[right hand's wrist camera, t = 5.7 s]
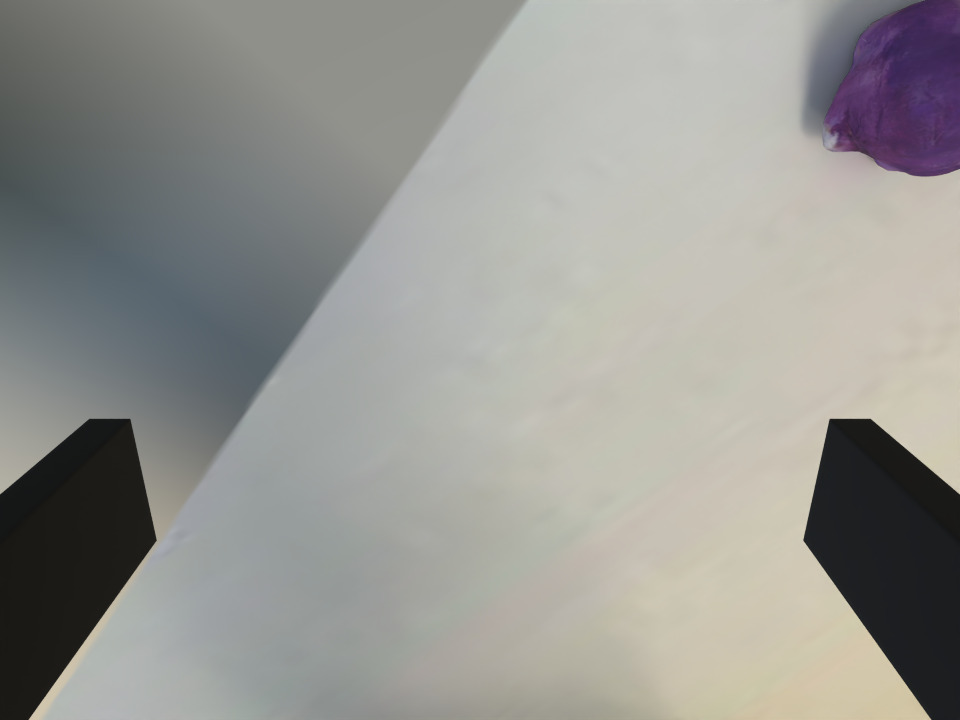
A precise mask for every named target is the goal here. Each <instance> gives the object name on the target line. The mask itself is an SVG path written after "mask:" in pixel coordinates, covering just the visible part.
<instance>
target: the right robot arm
mask: <svg viewBox="0 0 960 720" xmlns="http://www.w3.org/2000/svg"><path fill="white" fill-rule="evenodd" d="M156 541H157V540H156V535H155V530H154V526H153V521H152V517H151V512H150V508H149V503H148V498H147V494H146V489H145V484H144V480H143V475H142V471H141V466H140V461H139V457H138V452H137V448H136V443H135V438H134V434H133V429H132V425H131V420H130V419H89V420H88V421H86V422H85V423H84V424H83V425H82V426H81V427H79V428H78V429H77V430H76V431H75V432H73V433H72V434H71V435H70V436H69V437H68V438H66V439H65V440H64V441H63V442H62V443H60V444H59V445H58V446H57V447H56V448H55V449H53V450H52V451H51V452H50V453H49V454H47V455H46V456H45V457H44V458H43V459H42V460H40V461H39V462H38V463H37V464H36V465H35V466H33V467H32V468H31V469H30V470H29V471H27V472H26V473H25V474H24V475H23V476H22V477H20V478H19V479H18V480H17V481H16V482H14V483H13V484H12V485H11V486H10V487H9V488H7V489H6V490H5V491H4V492H3V493H1V494H0V720H29V718H30V717H31V716H32V714H33V713H34V711H35V710H36V709H37V707H38V706H39V704H40V703H41V702H42V700H43V699H44V697H45V696H46V695H47V693H48V692H49V690H50V689H51V688H52V686H53V685H54V683H55V682H56V681H57V679H58V678H59V676H60V675H61V674H62V672H63V671H64V669H65V668H66V667H67V665H68V664H69V662H70V661H71V660H72V658H73V657H74V655H75V654H76V653H77V651H78V650H79V648H80V647H81V646H82V644H83V643H84V641H85V640H86V639H87V637H88V636H89V634H90V633H91V632H92V630H93V629H94V627H95V626H96V625H97V623H98V622H99V620H100V619H101V618H102V616H103V615H104V613H105V612H106V611H107V609H108V608H109V606H110V605H111V604H112V602H113V601H114V599H115V598H116V597H117V595H118V594H119V592H120V591H121V590H122V588H123V587H124V585H125V584H126V583H127V581H128V580H129V578H130V577H131V576H132V574H133V573H134V571H135V570H136V569H137V567H138V566H139V564H140V563H141V562H142V560H143V559H144V557H145V556H146V555H147V553H148V552H149V550H150V549H151V548H152V546H153V545H154V543H155V542H156ZM803 541H804V542H805V543H806V545H807V546H808V548H809V549H810V550H811V552H812V553H813V555H814V556H815V557H816V559H817V560H818V562H819V563H820V564H821V566H822V567H823V569H824V570H825V571H826V573H827V574H828V576H829V577H830V578H831V580H832V581H833V583H834V584H835V585H836V587H837V588H838V590H839V591H840V592H841V594H842V595H843V597H844V598H845V599H846V601H847V602H848V604H849V605H850V606H851V608H852V609H853V611H854V612H855V613H856V615H857V616H858V618H859V619H860V620H861V622H862V623H863V625H864V626H865V627H866V629H867V630H868V632H869V633H870V634H871V636H872V637H873V639H874V640H875V641H876V643H877V644H878V646H879V647H880V648H881V650H882V651H883V653H884V654H885V655H886V657H887V658H888V660H889V661H890V662H891V664H892V665H893V667H894V668H895V669H896V671H897V672H898V674H899V675H900V676H901V678H902V679H903V681H904V682H905V683H906V685H907V686H908V688H909V689H910V690H911V692H912V693H913V695H914V696H915V697H916V699H917V700H918V702H919V703H920V704H921V706H922V707H923V709H924V710H925V711H926V713H927V714H928V716H929V717H930V718H931V720H960V494H959V493H957V492H956V491H955V490H954V489H953V488H951V487H950V486H949V485H948V484H947V483H946V482H944V481H943V480H942V479H941V478H940V477H938V476H937V475H936V474H935V473H934V472H933V471H931V470H930V469H929V468H928V467H927V466H926V465H924V464H923V463H922V462H921V461H920V460H918V459H917V458H916V457H915V456H914V455H913V454H911V453H910V452H909V451H908V450H907V449H905V448H904V447H903V446H902V445H901V444H900V443H898V442H897V441H896V440H895V439H894V438H892V437H891V436H890V435H889V434H888V433H887V432H885V431H884V430H883V429H882V428H881V427H880V426H878V425H877V424H876V423H875V422H874V421H872V420H871V419H830V420H829V425H828V429H827V434H826V438H825V443H824V448H823V452H822V457H821V461H820V466H819V471H818V475H817V480H816V484H815V489H814V494H813V498H812V503H811V507H810V512H809V517H808V521H807V526H806V530H805V535H804V540H803Z"/></svg>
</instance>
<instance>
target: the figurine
mask: <svg viewBox="0 0 960 720" xmlns="http://www.w3.org/2000/svg"><path fill="white" fill-rule="evenodd" d="M822 139H823V145H824V147H825V148H826V149H827V150H829V151H832V152H849V151H858V152H861V153H864V154H866V155H868V156H870V157H872V158H873V159H874V160H875V162H876V163H877V164H878V165H879V166H881V167H882V168H884V169H886V170H888V171H900V172H906V173H908V174H910V175H913V176H938V175H943V174H947V173H950V172H953V171H955V170H958V169H960V0H924V1H921V2H919V3H916V4H913V5H910V6H908V7H906V8H904V9H902V10H899V11H896V12H894V13H892V14H889V15H887V16H885V17H883V18H881V19H879V20H877V21H876V22H874V23H872V24H871V25H870V26H869V27H868V28H867V29H866V30H865V31H864V32H863V33H862V34H861V35H860V38H859V40H858V42H857V45H856V48H855V51H854V57H853V64H852V66H851V69H850V71H849V73H848V74H847V76H846V77H845V78H844V80H843V82H842V83H841V85H840V86H839V88H838V91H837V93H836V95H835V97H834V100H833V102H832V104H831V106H830V108H829V110H828V113H827V115H826V117H825V120H824V124H823V135H822Z"/></svg>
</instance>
